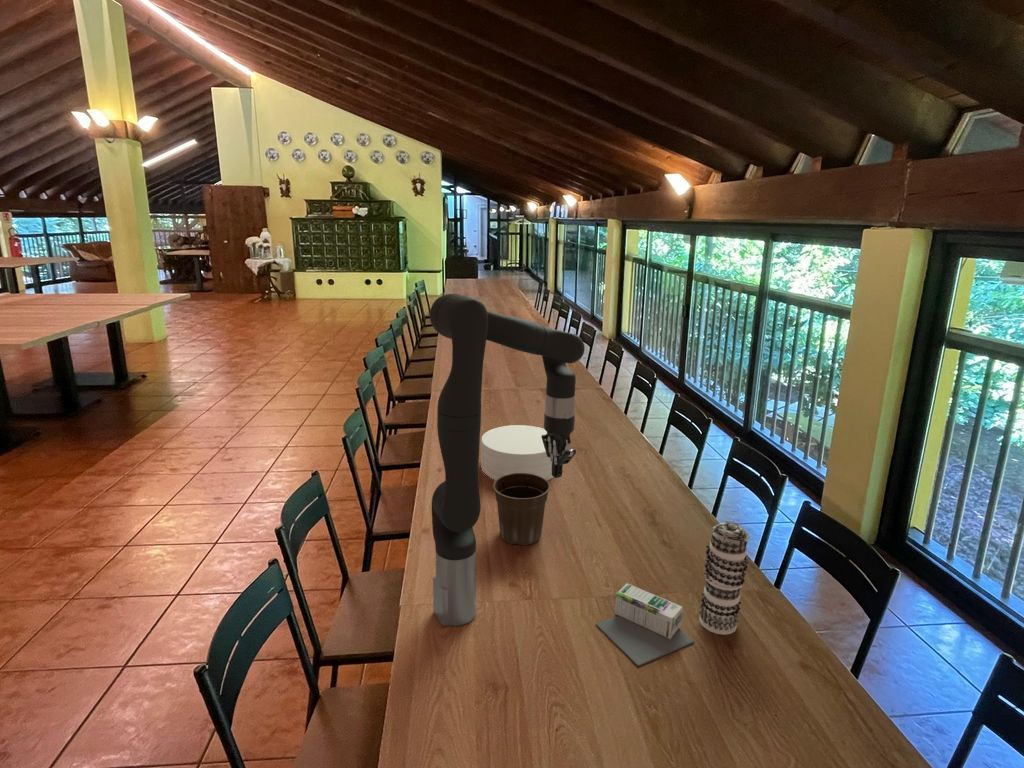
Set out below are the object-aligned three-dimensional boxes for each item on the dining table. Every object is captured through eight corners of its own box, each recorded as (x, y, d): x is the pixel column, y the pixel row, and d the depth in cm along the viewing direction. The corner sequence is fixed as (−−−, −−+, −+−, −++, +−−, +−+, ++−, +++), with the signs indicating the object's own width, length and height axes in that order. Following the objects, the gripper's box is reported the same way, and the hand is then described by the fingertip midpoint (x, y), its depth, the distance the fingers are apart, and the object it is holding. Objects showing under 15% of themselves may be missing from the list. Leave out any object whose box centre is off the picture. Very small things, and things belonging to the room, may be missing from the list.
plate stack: (473, 481, 214) (473, 450, 211) (489, 450, 240) (490, 422, 237) (553, 488, 210) (555, 457, 206) (561, 456, 236) (562, 428, 233)
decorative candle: (689, 615, 146) (700, 521, 139) (719, 606, 150) (732, 514, 143) (715, 639, 138) (728, 541, 131) (747, 629, 142) (761, 533, 135)
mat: (638, 666, 130) (638, 665, 130) (595, 624, 142) (595, 623, 142) (693, 642, 137) (694, 641, 137) (649, 604, 150) (649, 603, 150)
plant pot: (517, 556, 169) (519, 503, 164) (481, 533, 181) (481, 483, 176) (559, 537, 179) (561, 486, 175) (522, 515, 191) (523, 468, 186)
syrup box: (626, 582, 148) (683, 605, 140) (625, 603, 150) (681, 627, 141) (615, 593, 144) (673, 618, 136) (613, 614, 146) (671, 640, 137)
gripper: (533, 405, 155) (530, 469, 160) (561, 422, 144) (558, 490, 149) (558, 401, 158) (555, 463, 163) (587, 418, 147) (583, 484, 152)
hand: (556, 476), depth 156 cm, fingers closed
